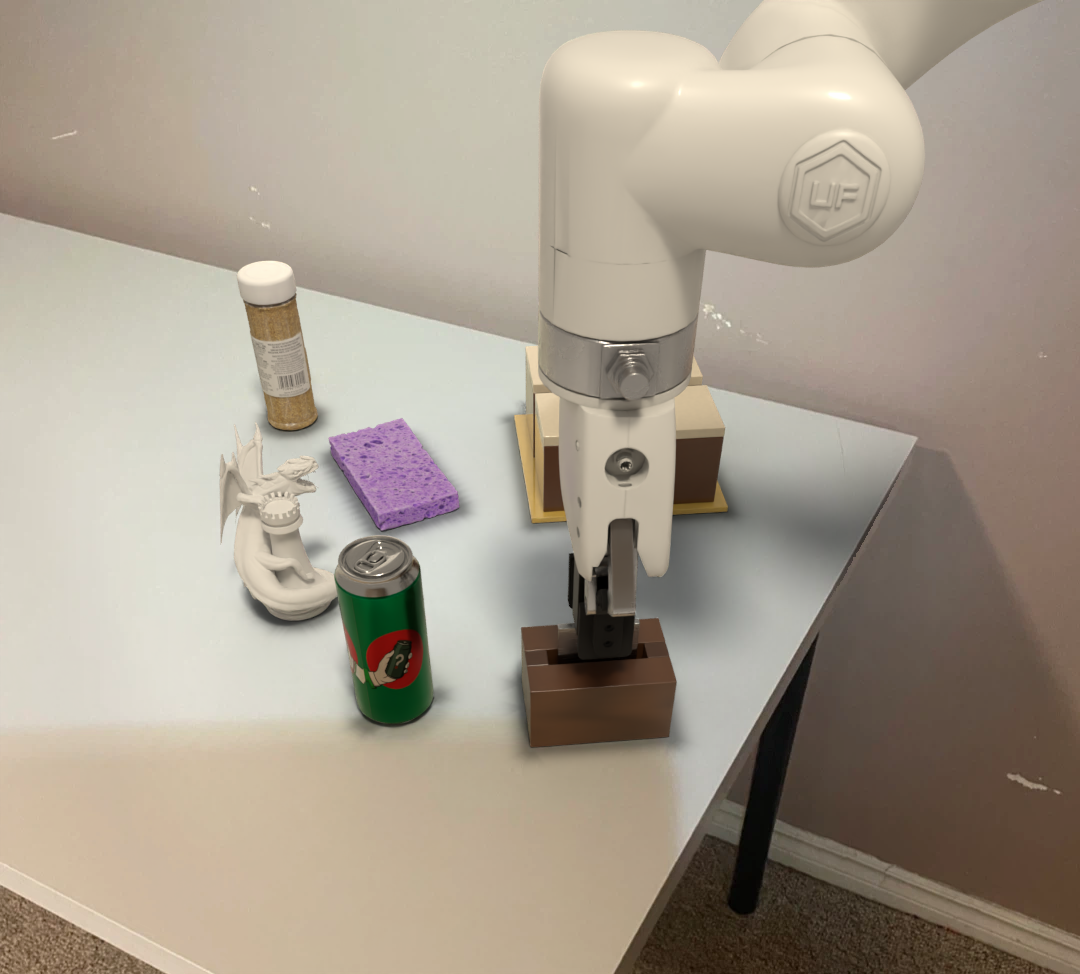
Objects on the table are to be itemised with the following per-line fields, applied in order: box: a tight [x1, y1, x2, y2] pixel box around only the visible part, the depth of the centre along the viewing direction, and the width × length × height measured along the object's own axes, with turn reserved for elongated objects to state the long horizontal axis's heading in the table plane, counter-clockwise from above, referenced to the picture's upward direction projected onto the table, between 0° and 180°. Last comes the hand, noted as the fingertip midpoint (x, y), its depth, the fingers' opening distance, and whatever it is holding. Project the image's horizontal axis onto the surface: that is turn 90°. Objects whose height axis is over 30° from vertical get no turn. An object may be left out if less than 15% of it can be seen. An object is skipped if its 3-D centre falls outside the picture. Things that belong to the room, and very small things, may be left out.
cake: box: [513, 345, 729, 524], centre depth 85 cm, size 16×16×7 cm
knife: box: [557, 555, 640, 665], centre depth 63 cm, size 5×2×12 cm, turn 96°
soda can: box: [333, 534, 434, 725], centre depth 63 cm, size 5×5×12 cm
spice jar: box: [236, 260, 318, 431], centre depth 87 cm, size 5×5×13 cm
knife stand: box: [520, 617, 678, 748], centre depth 65 cm, size 9×6×5 cm, turn 96°
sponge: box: [328, 417, 460, 531], centre depth 85 cm, size 7×13×2 cm, turn 26°
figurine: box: [219, 421, 338, 622], centre depth 72 cm, size 11×8×12 cm
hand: (598, 627), depth 62 cm, fingers open, 3 cm apart
